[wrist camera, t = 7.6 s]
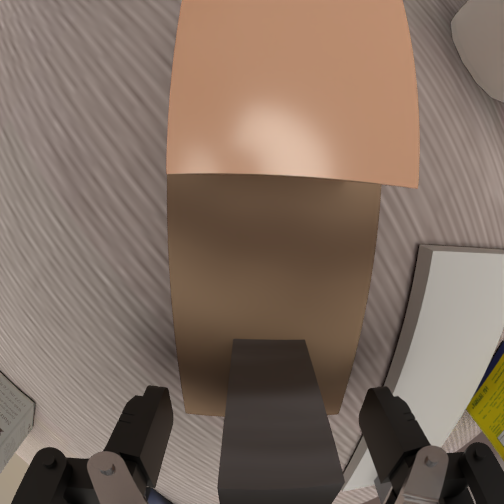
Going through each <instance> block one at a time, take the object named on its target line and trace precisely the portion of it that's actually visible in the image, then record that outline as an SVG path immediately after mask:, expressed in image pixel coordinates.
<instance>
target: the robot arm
mask: <svg viewBox="0 0 504 504" xmlns="http://www.w3.org/2000/svg"><path fill="white" fill-rule="evenodd" d="M411 412H412V411H411V410H410V408H409V406H408V404H407V403H406V402H405V401H404V400H402V399H401V398H400V397H399V396H395V397H394V396H393V394H392V393H391V391H390V389H389V388H388V387H387V386H384V387H377V388H370V389H369V390H368V392H367V394H366V397H365V400H364V403H363V405H362V408H361V411H360V414H359V425H360V428H361V431H362V434H363V436H364V439H365V442H366V444H367V447H368V450H369V452H370V455H371V458H372V461H373V463H374V466H375V469H376V472H377V475H378V477H379V480H380V483H381V484H383V483H387V482H391V484H392V487H391V488H390V490H389V492H388V494H387V496H386V499H385V501H384V503H383V504H474V502H473V499H472V497H471V495H470V492H469V490H468V488H467V487H468V486H469V487H470V490H471V492H472V494H473V496H474V499H475V501H476V504H504V471H503V470H502V468H501V466H500V464H499V463H498V461H497V459H496V457H495V456H494V454H493V452H492V451H491V449H490V448H489V447H488V446H487V445H486V444H484V443H480V442H478V443H477V442H476V443H473V444H471V445H470V446H469V447H468V448H467V449H466V450H465V452H457V453H446V452H445V451H444V450H443V449H442V448H440V447H438V446H433V445H431V444H430V443H429V441H428V439H427V437H426V436H425V434H424V432H423V430H422V429H421V427H420V425H419V423H418V422H417V420H415V416H414V415H413V413H411ZM172 426H173V410H172V406H171V401H170V396H169V391H168V388H166V387H158V386H151V385H149V386H148V387H147V388H146V391H145V393H144V395H143V397H142V396H137V395H136V396H134V397H133V398H132V399H131V400H130V401H128V402H127V404H126V406H125V408H124V410H123V412H122V414H121V416H120V418H119V422H117V424H116V426H115V428H114V430H113V432H112V435H111V437H110V439H109V441H108V443H107V445H106V447H105V449H104V450H103V452H98V453H96V454H94V455H93V456H91V457H90V458H89V459H79V458H66V457H65V456H64V454H63V453H62V452H61V451H60V450H58V449H56V448H52V447H47V448H43V449H41V450H39V451H38V452H37V453H36V455H35V456H34V458H33V460H32V462H31V464H30V466H29V468H28V470H27V472H26V473H25V476H24V478H23V480H22V482H21V484H20V486H19V488H18V490H17V492H16V495H15V496H14V498H13V501H12V503H11V504H149V503H148V501H147V499H146V497H145V496H144V493H145V490H146V486H148V487H152V488H155V487H156V483H157V480H158V476H159V472H160V469H161V465H162V461H163V458H164V454H165V450H166V447H167V443H168V440H169V436H170V433H171V429H172Z"/></svg>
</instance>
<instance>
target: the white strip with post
mask: <svg viewBox="0 0 504 504" xmlns="http://www.w3.org/2000/svg"><path fill="white" fill-rule="evenodd" d="M503 328H504V250H503V249H488V248H473V247H456V246H439V245H421V244H420V245H419V252H418V258H417V264H416V269H415V275H414V280H413V285H412V290H411V294H410V299H409V303H408V307H407V311H406V315H405V319H404V323H403V327H402V331H401V334H400V338H399V341H398V344H397V348H396V351H395V354H394V357H393V360H392V363H391V367H390V369H389V372H388V375H387V378H386V381H385V384H384V386H387V387H388V388H389V389H390V391H391V393H392V394H393V396H394V397H395V396H399V397H400V398H401V399H402V400H404V401H405V402H406V403H407V404H408V406H409V408H410V410H411V411H412V412H411V413H413V415H414V416H415V420H417V422H418V423H419V425H420V427H421V429H422V430H423V432H424V434H425V436H426V437H427V439H428V441H429V443H430V444H431V445H433V446H438V447H440V448H441V446H442V445H443V444H444V442H445V441H446V439H447V438H448V436H449V435H450V433H451V432H452V430H453V429H454V427H455V426H456V424H457V422H458V421H459V419H460V418H461V416H462V414H463V413H464V411H465V409H466V408H467V406H468V404H469V402H470V401H471V399H472V397H473V395H474V393H475V391H476V389H477V388H478V386H479V384H480V382H481V380H482V378H483V376H484V373H485V371H486V369H487V367H488V365H489V363H490V360H491V358H492V356H493V354H494V351H495V349H496V346H497V344H498V341H499V339H500V336H501V333H502V331H503ZM384 386H383V387H384ZM343 476H344V480H345V483H344V485H343V487H342V488H341V490H342V492H343V491H348V490H354V489H359V488H363V487H368V486H372V485H375V487H376V490H377V493H378V496H379V499H380V502H381V504H383V503H384V501H385V499H386V496H387V494H388V492H389V490H390V488H391V487H392V484H391V482H387V483H383V484H381V483H380V480H379V477H378V475H377V472H376V469H375V466H374V463H373V461H372V458H371V455H370V452H369V450H368V447H367V444H366V442H365V439H364V436H363V437H362V439H361V441H360V443H359V445H358V447H357V449H356V451H355V453H354V455H353V457H352V459H351V461H350V463H349V465H348V466H347V468H346V470H345V472H344V474H343Z"/></svg>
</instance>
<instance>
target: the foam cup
mask: <svg viewBox="0 0 504 504" xmlns="http://www.w3.org/2000/svg"><path fill="white" fill-rule="evenodd" d="M451 30H452V39H453V42H454V44H455V46H456V48H457V51H458V53H459V55H460V58H461V60H462V62H463V64H464V65H465V66H466V68H467V69H468V71H469V72H470V74H471V75H472V77H473V79H474V80H475V82H476V83H477V84H478V85H479V86H480V87H481V88H482V89H483V90H484V91H485V92H486V93H487V94H488V95H489V96H490V97H491V98H493V99H496V100H498V101H501V102H503V103H504V0H468V1H467V2H466V3H465V4H464V5H463V6H462V7H461V8H460V10H459V12H457V13H456V14H455V16H454V18H453V19H452V21H451Z"/></svg>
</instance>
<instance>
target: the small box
mask: <svg viewBox="0 0 504 504" xmlns="http://www.w3.org/2000/svg"><path fill="white" fill-rule="evenodd" d="M144 496H145V497H146V499H147V501H148V503H149V504H172V503H171V502H169V501H168V500H167V499H165V498H164V497H163V496H161V495H160V494H159V493H158V492H156V491H155V490H154V489H153V488H151V487H146V490H145V493H144Z"/></svg>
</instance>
